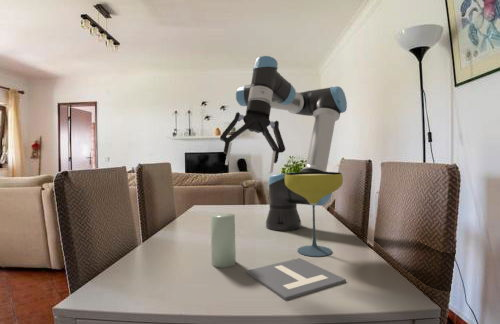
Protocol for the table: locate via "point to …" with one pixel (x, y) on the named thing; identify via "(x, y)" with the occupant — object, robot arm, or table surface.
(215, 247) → the green canister
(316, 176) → the cocktail glass
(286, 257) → the table surface
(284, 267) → the letter board
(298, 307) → the table surface
